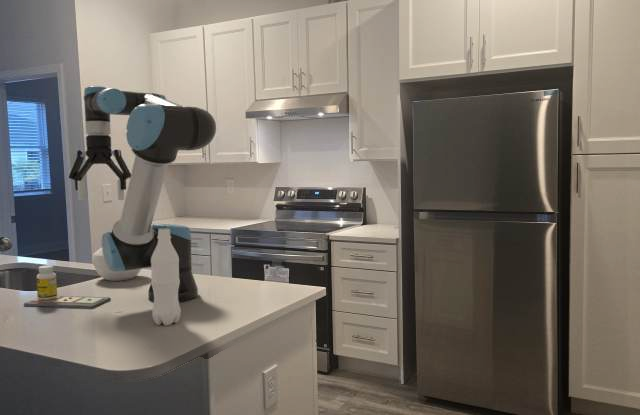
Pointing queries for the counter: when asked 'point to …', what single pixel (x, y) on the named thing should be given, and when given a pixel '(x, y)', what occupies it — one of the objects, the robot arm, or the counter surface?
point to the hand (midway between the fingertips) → (101, 200)
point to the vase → (107, 273)
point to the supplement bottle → (46, 283)
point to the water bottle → (165, 280)
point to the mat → (70, 302)
